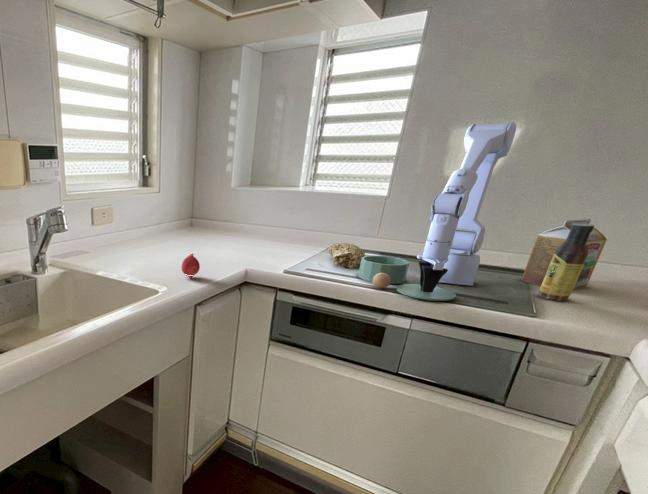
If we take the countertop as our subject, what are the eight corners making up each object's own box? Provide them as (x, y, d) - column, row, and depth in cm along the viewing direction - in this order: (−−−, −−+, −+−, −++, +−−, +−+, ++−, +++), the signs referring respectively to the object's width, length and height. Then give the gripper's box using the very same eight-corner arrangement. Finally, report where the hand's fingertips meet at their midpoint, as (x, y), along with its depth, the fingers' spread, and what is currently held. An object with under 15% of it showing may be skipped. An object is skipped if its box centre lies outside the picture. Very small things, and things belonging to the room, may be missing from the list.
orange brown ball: (388, 286, 120) (391, 271, 118) (389, 291, 116) (393, 275, 114) (370, 285, 121) (373, 270, 120) (371, 289, 118) (374, 274, 116)
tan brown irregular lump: (362, 273, 138) (368, 251, 152) (361, 252, 135) (368, 231, 149) (321, 275, 146) (331, 253, 160) (320, 255, 142) (329, 234, 156)
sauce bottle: (536, 293, 113) (564, 221, 106) (567, 297, 110) (598, 223, 102) (537, 299, 109) (566, 224, 101) (569, 304, 105) (602, 226, 97)
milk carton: (561, 290, 116) (589, 223, 108) (521, 280, 125) (543, 218, 118) (586, 287, 118) (614, 221, 111) (544, 277, 128) (568, 216, 120)
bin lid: (448, 290, 116) (453, 275, 114) (460, 305, 104) (465, 288, 102) (393, 285, 121) (397, 270, 119) (398, 298, 109) (402, 282, 108)
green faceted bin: (401, 275, 131) (406, 257, 129) (406, 286, 120) (411, 266, 118) (357, 271, 136) (361, 254, 134) (358, 281, 125) (362, 262, 123)
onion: (184, 280, 126) (185, 255, 123) (178, 276, 132) (179, 252, 129) (201, 279, 128) (203, 254, 125) (195, 274, 133) (196, 250, 130)
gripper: (417, 235, 114) (406, 281, 120) (426, 244, 102) (412, 295, 108) (447, 236, 112) (434, 283, 117) (459, 246, 100) (444, 298, 105)
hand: (426, 289), depth 112 cm, fingers open, 4 cm apart
